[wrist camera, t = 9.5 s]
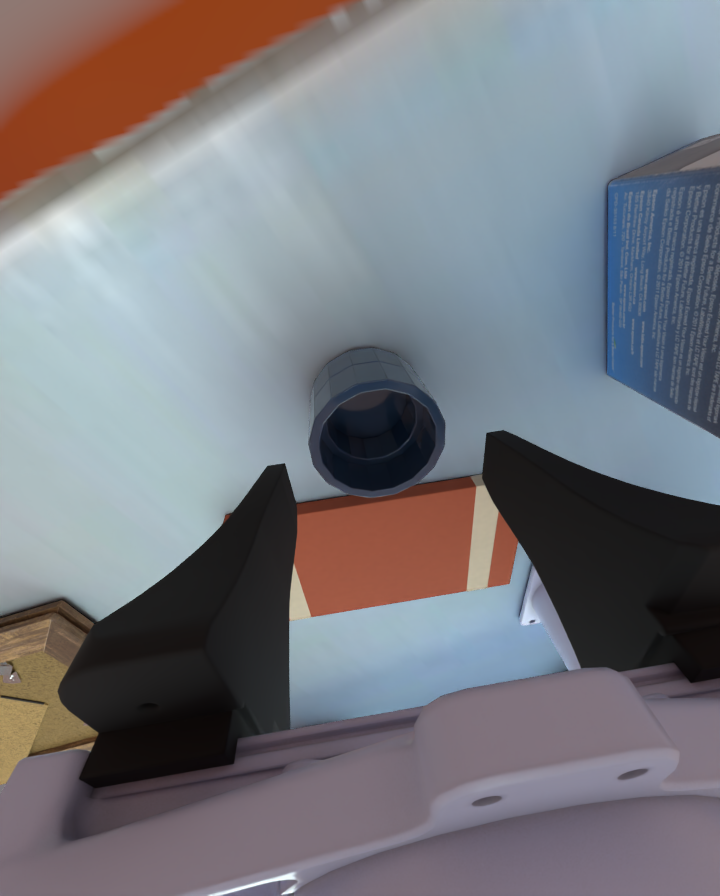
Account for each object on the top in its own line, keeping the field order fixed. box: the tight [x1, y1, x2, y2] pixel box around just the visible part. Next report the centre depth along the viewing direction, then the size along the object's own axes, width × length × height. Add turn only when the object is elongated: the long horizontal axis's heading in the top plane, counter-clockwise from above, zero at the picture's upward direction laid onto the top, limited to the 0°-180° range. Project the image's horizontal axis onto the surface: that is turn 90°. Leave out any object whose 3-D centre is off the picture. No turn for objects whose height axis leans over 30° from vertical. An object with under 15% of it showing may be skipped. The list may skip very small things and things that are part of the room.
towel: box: [223, 474, 518, 621], centre depth 23 cm, size 18×10×1 cm, turn 96°
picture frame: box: [0, 600, 98, 785], centre depth 28 cm, size 19×2×24 cm
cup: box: [308, 348, 445, 498], centre depth 16 cm, size 5×5×4 cm
